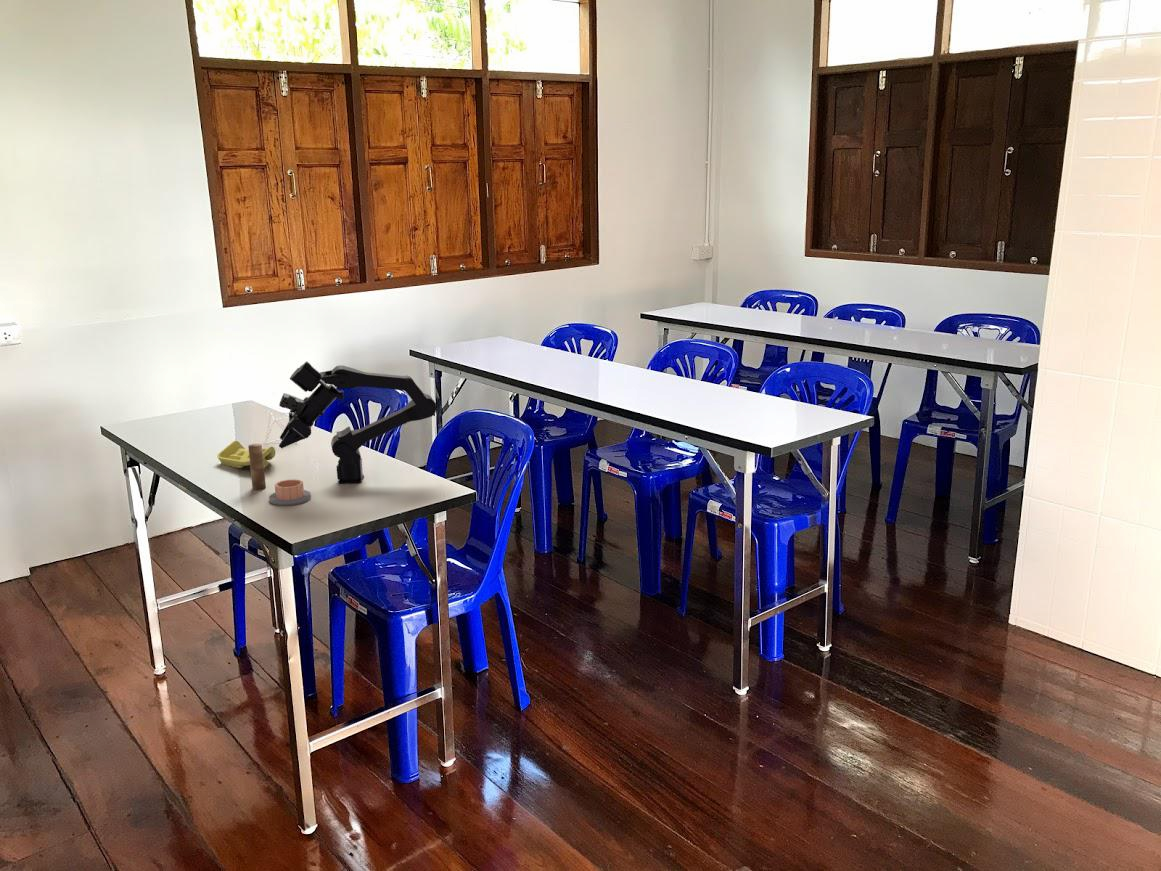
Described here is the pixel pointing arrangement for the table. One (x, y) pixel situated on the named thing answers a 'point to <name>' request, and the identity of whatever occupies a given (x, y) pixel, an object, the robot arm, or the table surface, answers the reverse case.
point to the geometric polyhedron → (272, 426)
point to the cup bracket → (289, 493)
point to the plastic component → (242, 455)
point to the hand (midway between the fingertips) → (280, 443)
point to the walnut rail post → (257, 466)
